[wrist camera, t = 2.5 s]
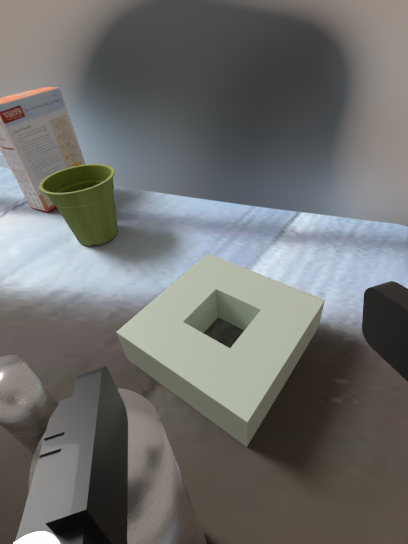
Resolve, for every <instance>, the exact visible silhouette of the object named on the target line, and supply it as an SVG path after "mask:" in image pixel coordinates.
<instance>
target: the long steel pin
mask: <svg viewBox="0 0 408 544" xmlns="http://www.w3.org/2000/svg"><path fill="white" fill-rule="evenodd" d="M118 391H119V393H120V395H121V398H122V400H123V402H124V405H125V408H126V412H127V417H128V511H127V544H207V541H206V538H205V536H204V533H203V531H202V528H201V525H200V523H199V520H198V517H197V515H196V512H195V510H194V507H193V504H192V502H191V499H190V496H189V494H188V491H187V489H186V486H185V483H184V481H183V478H182V475H181V473H180V470H179V468H178V465H177V462H176V460H175V457H174V454H173V452H172V449H171V447H170V444H169V441H168V439H167V436H166V433H165V431H164V428H163V426H162V423H161V420H160V418H159V415H158V413H157V411H156V410H155V408H154V407H153V406H152V404H151V403H150V402H149V401H148V400H147V399H146V398H144V397H143V396H141V395H140V394H138V393H136V392H133V391H130V390H126V389H118ZM45 433H46V432H45ZM45 433H44V435H43V437H42V438H41V440H40V442H39V444H38V446H37V448H36V451H35V453H34V456H33V459H32V463H31V468H30V475H29V491H30V487H31V484H32V480H33V477H34V473H35V469H36V466H37V462H38V460H40V456H39V455H40V451H41V447H42V444H43V442H44V436H45Z"/></svg>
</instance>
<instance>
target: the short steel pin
mask: <svg viewBox="0 0 408 544" xmlns="http://www.w3.org/2000/svg"><path fill="white" fill-rule="evenodd" d="M58 405H59V404H58V403H57V402H56V401H55V399H54V398H53V397H52V396H51V394H50V393H49V392H48V391H47V389H46V388H45V387H44V385H43V384H42V383H41V382H40V380H39V379H38V378H37V377H36V375H35V374H34V373H33V372H32V370H31V369H30V368H29V367H28V365H27V364H26V363H25V362H24V360H23V359H22V358H20V357H18V356H14V355H9V356H3V357H0V425H1V426H2V427H3V428H4V429H5V430H7V431H8V432H9V433H10V434H11V435H12V436H13V437H15V438H16V439H17V440H18V441H19V442H20V443H22V444H23V445H24V446H25V447H26V448H27V449H29V450H30V451H31V452H32V453H33V454H34V453H35V451H36V448H37V446H38V444H39V442H40V440H41V438H42V437H43V435H44V433H45V432H46V429H47V425H48V422H49V418H50V417H51V415H52V414H53V412H54V411H55V409H56V408H57V406H58Z"/></svg>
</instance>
